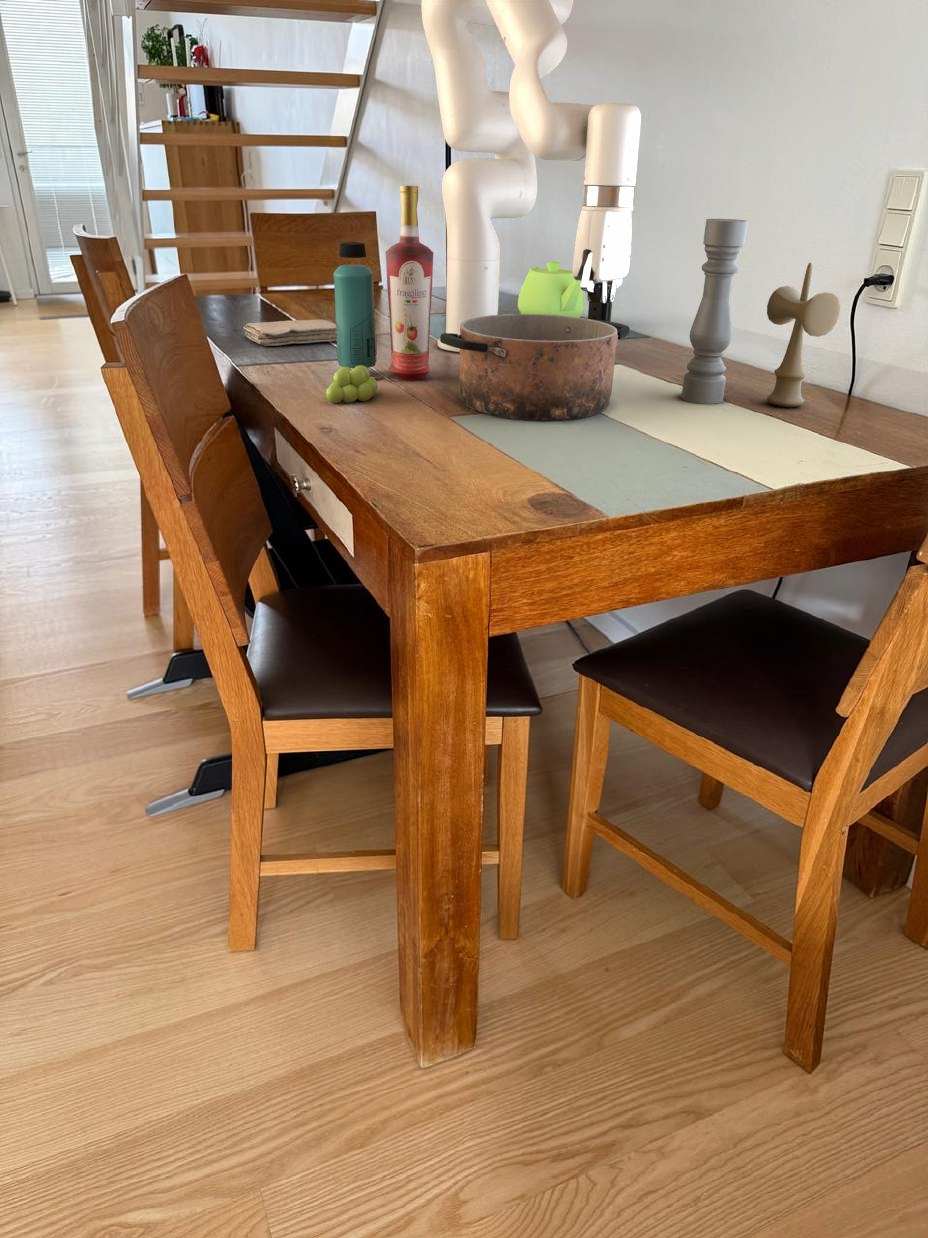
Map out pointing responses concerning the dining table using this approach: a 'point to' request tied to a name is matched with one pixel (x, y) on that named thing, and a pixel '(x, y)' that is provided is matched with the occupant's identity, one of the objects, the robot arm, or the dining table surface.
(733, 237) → the candle holder
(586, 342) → the cooking pot
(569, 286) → the teapot
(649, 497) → the dining table surface
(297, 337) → the washcloth
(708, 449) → the dining table surface
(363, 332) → the beverage bottle
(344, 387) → the grapes
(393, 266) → the liquor
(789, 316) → the kendama
